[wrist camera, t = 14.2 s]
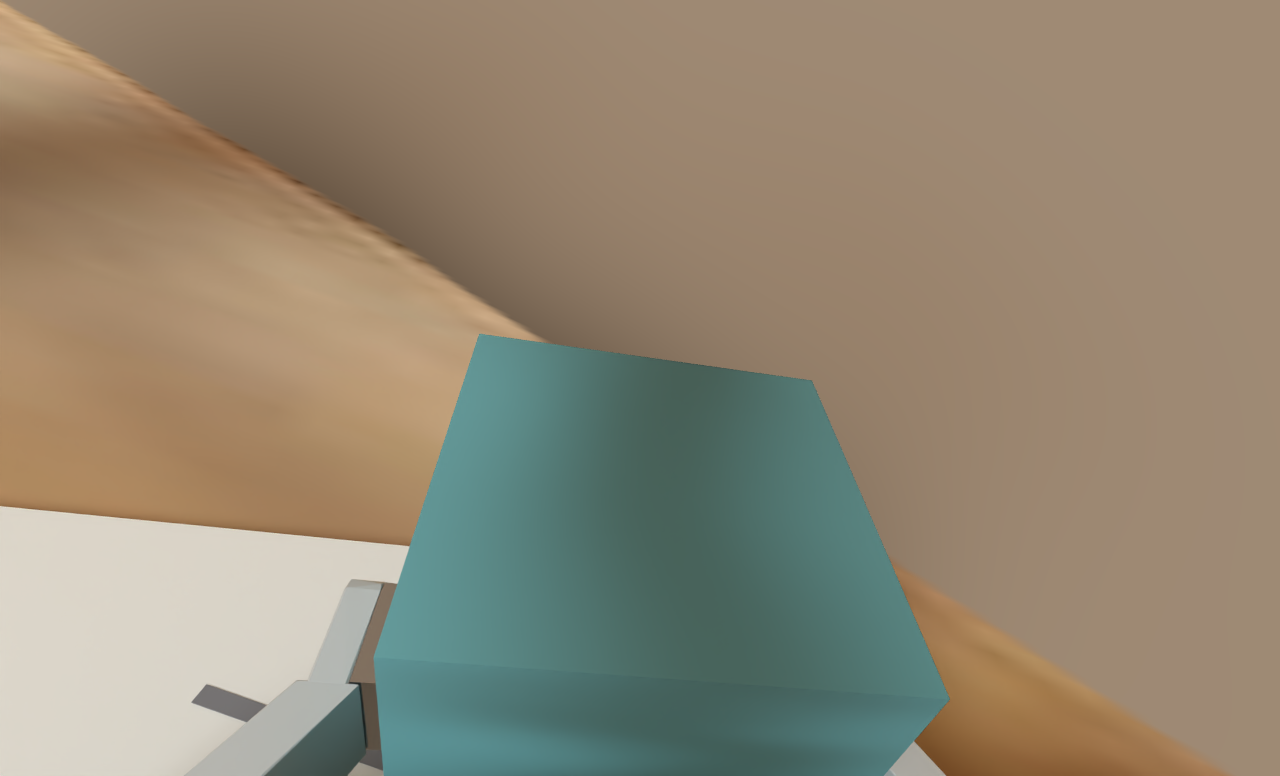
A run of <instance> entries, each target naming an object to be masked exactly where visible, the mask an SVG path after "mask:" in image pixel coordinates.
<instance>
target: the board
mask: <svg viewBox="0 0 1280 776" xmlns="http://www.w3.org/2000/svg"><path fill="white" fill-rule="evenodd" d="M409 547H410V546H401V545H391V544H380V543H370V542H360V541H350V540H340V539H329V538H319V537H309V536H299V535H289V534H278V533H268V532H258V531H248V530H238V529H227V528H217V527H207V526H197V525H186V524H176V523H166V522H156V521H146V520H135V519H125V518H115V517H105V516H95V515H84V514H74V513H64V512H54V511H44V510H33V509H23V508H13V507H3V506H0V776H184V775H185V774H186V773H188V772H189V771H190V770H191V769H192V768H193V767H195V766H196V765H197V764H198V763H199V762H201V761H202V760H203V759H204V758H205V757H206V756H208V755H209V754H210V753H211V752H212V751H213V750H215V749H216V748H217V747H218V746H219V745H221V744H222V743H223V742H224V741H225V740H226V739H228V738H229V737H230V736H231V735H232V734H234V733H235V732H236V731H237V730H238V729H239V728H241V727H242V726H243V725H244V724H245V723H246V722H248V721H249V720H250V719H251V718H252V717H254V716H255V715H256V714H257V713H258V712H259V711H261V710H262V709H263V708H264V707H265V706H267V705H268V704H269V703H270V702H271V701H272V700H274V699H275V698H276V697H277V696H278V695H279V694H281V693H282V692H283V691H284V690H285V689H287V688H288V687H289V686H290V685H291V684H292V683H294V682H295V681H296V680H308V677H309V675H310V672H311V670H312V667H313V665H314V662H315V660H316V657H317V655H318V652H319V650H320V648H321V645H322V643H323V640H324V638H325V635H326V633H327V630H328V628H329V625H330V623H331V620H332V618H333V616H334V613H335V611H336V608H337V606H338V603H339V601H340V598H341V596H342V593H343V591H344V589H345V587H346V586H347V585H348V583H349V582H350V580H351V579H357V580H368V581H379V582H387V583H396V584H398V581H399V578H400V575H401V572H402V569H403V565H404V562H405V559H406V556H407V553H408V550H409ZM348 776H384V774H383V762H382V751H381V750H366V755H365V756H364V757H363V758H362V759H361V760H360V762H359V763H358V764H357V765H356V766H355V767H354V769H353V770H352V771H351V772H350V773H349V774H348Z"/></svg>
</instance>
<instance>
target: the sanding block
mask: <svg viewBox="0 0 1280 776" xmlns="http://www.w3.org/2000/svg"><path fill="white" fill-rule="evenodd" d="M374 669H375V681H376V692H377V704H378V716H379V727H380V739H381V751H382V762H383V774H384V776H884V775H885V774H886V773H887V772H888V770H889V769H890V768H891V767H892V766H893V765H894V763H895V762H896V761H897V760H898V759H899V758H900V757H901V755H902V754H903V753H904V752H905V751H906V750H907V748H908V747H909V746H910V745H911V744H912V743H913V742H914V740H915V739H916V738H917V737H918V736H919V735H920V733H921V732H922V731H923V730H924V729H925V728H926V726H927V725H928V724H929V723H930V722H931V721H932V720H933V718H934V717H935V716H936V715H937V714H938V713H939V711H940V710H941V709H942V708H943V707H944V706H945V705H946V703H947V702H948V701H949V700H950V698H949V696H948V694H947V691H946V689H945V687H944V684H943V682H942V680H941V677H940V675H939V673H938V670H937V668H936V666H935V664H934V661H933V659H932V657H931V654H930V652H929V650H928V647H927V645H926V643H925V640H924V638H923V636H922V634H921V631H920V629H919V627H918V624H917V622H916V620H915V617H914V615H913V613H912V610H911V608H910V606H909V604H908V601H907V599H906V597H905V594H904V592H903V590H902V587H901V585H900V583H899V580H898V578H897V576H896V574H895V571H894V569H893V567H892V564H891V562H890V560H889V557H888V555H887V553H886V551H885V548H884V546H883V544H882V541H881V539H880V537H879V534H878V532H877V530H876V528H875V525H874V523H873V521H872V518H871V516H870V514H869V511H868V509H867V507H866V504H865V502H864V500H863V497H862V495H861V493H860V490H859V488H858V486H857V484H856V481H855V479H854V477H853V474H852V472H851V470H850V467H849V465H848V463H847V461H846V458H845V456H844V454H843V452H842V449H841V447H840V444H839V442H838V440H837V438H836V436H835V433H834V431H833V429H832V426H831V424H830V421H829V419H828V417H827V414H826V412H825V410H824V407H823V405H822V403H821V401H820V398H819V396H818V394H817V391H816V389H815V387H814V384H813V382H812V381H811V380H804V379H796V378H790V377H783V376H775V375H769V374H762V373H754V372H747V371H740V370H733V369H726V368H719V367H712V366H704V365H698V364H690V363H683V362H676V361H669V360H662V359H655V358H648V357H641V356H634V355H625V354H620V353H612V352H605V351H598V350H591V349H584V348H577V347H570V346H563V345H556V344H549V343H541V342H534V341H527V340H520V339H513V338H506V337H499V336H492V335H485V334H479V336H478V339H477V342H476V345H475V348H474V352H473V355H472V358H471V361H470V364H469V367H468V370H467V373H466V376H465V379H464V382H463V385H462V388H461V391H460V394H459V397H458V400H457V403H456V407H455V410H454V413H453V416H452V419H451V422H450V425H449V428H448V431H447V434H446V437H445V440H444V443H443V446H442V449H441V452H440V455H439V459H438V462H437V465H436V468H435V471H434V474H433V477H432V480H431V483H430V486H429V489H428V492H427V495H426V498H425V501H424V504H423V507H422V510H421V514H420V517H419V520H418V523H417V526H416V529H415V532H414V535H413V538H412V541H411V544H410V547H409V550H408V553H407V556H406V559H405V562H404V565H403V569H402V572H401V575H400V578H399V581H398V584H397V587H396V590H395V593H394V596H393V599H392V602H391V605H390V608H389V611H388V614H387V617H386V621H385V624H384V627H383V630H382V633H381V636H380V639H379V642H378V645H377V648H376V651H375V654H374Z"/></svg>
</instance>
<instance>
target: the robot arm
mask: <svg viewBox="0 0 1280 776" xmlns="http://www.w3.org/2000/svg"><path fill="white" fill-rule="evenodd" d="M396 587H397V584H396V583H387V582H379V581H368V580H357V579H351V580H350V582H349V583H348V585H347V586H346V587H345V589H344V591H343V593H342V596H341V598H340V601H339V603H338V606H337V608H336V611H335V613H334V616H333V618H332V620H331V623H330V625H329V628H328V630H327V633H326V635H325V638H324V640H323V643H322V645H321V648H320V650H319V652H318V655H317V657H316V660H315V662H314V665H313V667H312V670H311V672H310V675H309V677H308V680H296V681H295V682H294V683H292V684H291V685H290V686H289V687H288V688H287V689H285V690H284V691H283V692H282V693H281V694H279V695H278V696H277V697H276V698H275V699H274V700H272V701H271V702H270V703H269V704H268V705H267V706H265V707H264V708H263V709H262V710H261V711H259V712H258V713H257V714H256V715H255V716H254V717H252V718H251V719H250V720H249V721H248V722H246V723H245V724H244V725H243V726H242V727H241V728H239V729H238V730H237V731H236V732H235V733H234V734H232V735H231V736H230V737H229V738H228V739H226V740H225V741H224V742H223V743H222V744H221V745H219V746H218V747H217V748H216V749H215V750H213V751H212V752H211V753H210V754H209V755H208V756H206V757H205V758H204V759H203V760H202V761H201V762H199V763H198V764H197V765H196V766H195V767H193V768H192V769H191V770H190V771H189V772H188V773H186V774H185V775H184V776H348V774H349V773H350V772H351V771H352V770H353V769H354V767H355V766H356V765H357V764H358V763H359V762H360V760H361V759H362V758H363V757H364V756H365V755H366V750H381V739H380V727H379V716H378V704H377V692H376V681H375V669H374V654H375V651H376V648H377V645H378V642H379V639H380V636H381V633H382V630H383V627H384V624H385V621H386V617H387V614H388V611H389V608H390V605H391V602H392V599H393V596H394V593H395V590H396ZM884 776H946V775H945V774H944V773H943V772H942V771H941V770H940V768H939V767H938V766H937V765H936V764H935V763H934V762H933V761H932V760H931V759H930V758H929V757H928V756H927V754H926V753H925V752H924V751H923V750H922V749H921V748H920V747H919V746H918V745H917V744H916V743H915V742H913V743H912V744H911V745H910V746H909V747H908V748H907V750H906V751H905V752H904V753H903V754H902V755H901V757H900V758H899V759H898V760H897V761H896V762H895V763H894V765H893V766H892V767H891V768H890V769H889V770H888V772H887V773H886V774H885V775H884Z"/></svg>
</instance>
